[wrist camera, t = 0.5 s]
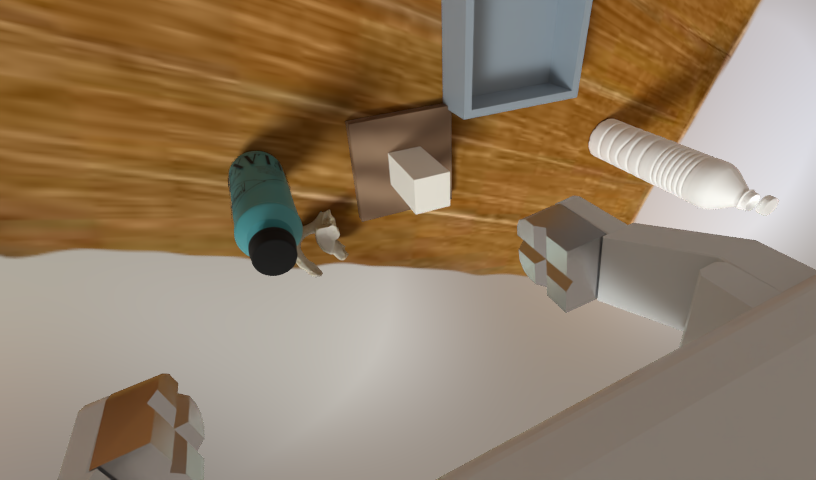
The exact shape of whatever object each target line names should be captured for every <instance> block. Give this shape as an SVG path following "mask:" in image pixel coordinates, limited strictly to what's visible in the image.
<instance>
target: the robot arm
mask: <svg viewBox="0 0 816 480" xmlns="http://www.w3.org/2000/svg"><path fill="white" fill-rule="evenodd" d="M517 231H518V236H520V237H521V238H522V239H523V242H522V244H521V246H520V248H519V257H520V262H521V264H522V267H523V269H524V271H525V273H526V274H527V276H528V277H529V278H530V279H531V280H532V281H533V282H534V283H535V284H537V285H541V286H545V287H547V295H548V296H549V297H550V298H551V299H552V300H553V301H554V302H555V303H556V304H557V305H558V306H559V307H560V308H561V309H562V310H563V311H565V312H566V313H567V312H569V311H571V310H573V309H575V308H578V307H580V306H582V305H584V304H586V303H589V302H591V301H593V300H595V299H597V298H598V301H601V302H604V303H607V304H609V305H612V306H615V307H617V308H620V309H623V310H626V311H628V312H631V313H634V314H637V315H640V316H642V317H645V318H648V319H651V320H654V321H656V322H659V323H662V324H665V325H667V326H670V327H673V328H676V329H678V330H681V331H683V335H682V339H681V343H680V347H679V348H678V349H676V350H674V351H673V352H671V353H669V354H667V355H665V356H664V357H662V358H660V359H658V360H656V361H654V362H652V363H650V364H649V365H647V366H645V367H643V368H641V369H639V370H637V371H636V372H634V373H632V374H630V375H628V376H626V377H625V378H623V379H621V380H619V381H617V382H615V383H614V384H612V385H610V386H608V387H606V388H604V389H602V390H600V391H599V392H597V393H595V394H593V395H591V396H589V397H588V398H586V399H584V400H582V401H581V402H578V403H576V404H575V405H573V406H571V407H569V408H567V409H565V410H563V411H562V412H560V413H558V414H556V415H554V416H552V417H550V418H549V419H547V420H545V421H543V422H541V423H539V424H538V425H536V426H534V427H532V428H530V429H528V430H526V431H525V432H523V433H521V434H519V435H517V436H515V437H513V438H512V439H510V440H508V441H506V442H504V443H502V444H501V445H499V446H497V447H495V448H493V449H492V450H489V451H488V452H486V453H484V454H482V455H480V456H478V457H476V458H475V459H473V460H471V461H469V462H467V463H465V464H464V465H462V466H460V467H458V468H456V469H454V470H453V471H451V472H449V473H447V474H445V475H443V476H441V477H440V478H438V479H436V480H816V270H815V269H813V268H811V267H809V266H807V265H805V264H803V263H801V262H799V261H797V260H795V259H792V258H791V257H789V256H787V255H785V254H782V253H780V252H778V251H776V250H774V249H772V248H770V247H768V246H766V245H764V244H762V243H760V242H758V241H756V240H750V239H743V238H736V237H729V236H722V235H714V234H708V233H701V232H693V231H687V230H680V229H673V228H666V227H658V226H652V225H644V224H637V223H632V224H630V225H626V224H625V223H623V222H621V221H620V220H618V219H616V218H615V217H613V216H611V215H610V214H608V213H606V212H605V211H603V210H601V209H600V208H598V207H596V206H595V205H593V204H591V203H590V202H588V201H586V200H585V199H583V198H581V197H579V196H572V197H570V198H567V199H565V200H563V201H561V202H559V203H556V204H555V205H553V206H551V207H548V208H546V209H544V210H541V211H539V212H537V213H535V214H532V215H530V216H528V217H526V218H523V219H521V220H519V222H518V225H517ZM203 440H204V423H203V419H202V416H201V412H200V410H199V408H198V406H197V405H196V403H195V402H194V401H193V399H192V398H191V397H190V396H187V395H183V394H178V383H177V382H176V381H175V380H174V379H173V378H172V377H171V376H170V374H160V375H158V376H155V377H153V378H151V379H148V380H145V381H143V382H140V383H138V384H136V385H133V386H131V387H128V388H126V389H123V390H121V391H118V392H116V393H114V394H111V395H110V396H107V397H105V398H102V399H100V400H97V401H95V402H92V403H90V404H88V405H85V406H84V407H83V408H82V409H81V410H80V411H79V412H78V414H77V417H76V420H75V423H74V427H73V430H72V433H71V437H70V440H69V443H68V446H67V450H66V453H65V456H64V459H63V463H62V466H61V469H60V473H59V476H58V479H57V480H204V458H203V457H202V456H201V455H200V454H199V453H198V452H197V450H198V449H199V447H200V445H201V444H202V442H203Z"/></svg>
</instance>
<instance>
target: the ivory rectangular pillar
mask: <svg viewBox="0 0 816 480" xmlns="http://www.w3.org/2000/svg"><path fill="white" fill-rule="evenodd" d="M388 159H389V170H390V181H391V185H392V186H393V188H394V189H395V190H396V191H397V192H398V194H399V195H400V196H401V197H402V198H403V200H404V201H405V202H406V203H407V204H408V206H409V207H410V208H411V209H412V210H413V212H414V213H415V214H420V213H424V212H428V211H431V210H435V209H439V208H443V207H447V206H450V171H448V170H447V169H446V168H445V167H444V166H443V165H441V164H440V163H439V162H438V161H437V160H436V159H434V158H433V157H432V156H431V155H430V154H429V153H427V152H426V151H425V150H424V149H423V148H422V147H420V146H419V147H414V148H409V149H405V150H400V151H395V152H391V153H388Z"/></svg>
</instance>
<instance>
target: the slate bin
mask: <svg viewBox="0 0 816 480" xmlns="http://www.w3.org/2000/svg"><path fill="white" fill-rule="evenodd" d="M592 1H593V0H442V62H443V103H444V104H445V105H447V106H448V110H449V111H451V112H452V113H454V114H456V115H457V116H459V117H461V118H462V119H464V120H465V119H470V118H475V117H480V116H485V115H490V114H495V113H500V112H505V111H510V110H515V109H520V108H525V107H530V106H535V105H540V104H545V103H550V102H555V101H560V100H565V99H570V98H575V97H577V94H578V87H579V81H580V75H581V69H582V63H583V57H584V51H585V44H586V38H587V32H588V26H589V20H590V14H591V8H592Z"/></svg>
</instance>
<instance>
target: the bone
mask: <svg viewBox="0 0 816 480" xmlns="http://www.w3.org/2000/svg"><path fill="white" fill-rule="evenodd" d="M313 233H315V236H316V241H317V243H318V245H319V246H320V248H321V249H322V250H323V251H324V252H326V253H329V254H334V256H335V257H337V258H338V259H339V260H345V259H346V257H347V256H348V254H347V252H346V251H345V248H344V247H345V246H344V245H342V244H341V243H340V242H339V241H338V240H336V239H338V238H339V236H340V232H339V229H338V228H337V227H336V223H335V218H334V217H333V216H332V215H331V211H330V209H329V210H327V211H326V212H322V211H320V213H319V215H318V216H317V218H316V219H315V220H314V221H313V222H312V223H310V224H308V225H305V226H303V234H302V238H301V240H300V242H299V244H298V246H297V254H298V256H297V261H296V263H297V265H298V266H299V267H300V268H301V269H303V270H305V271H307V273H309V275H311V276H314V277H319V276H321V275H322V274H323V273H322V271H321V270H320V269H319V268H318V267H317V266H316V265H315V264H314V263H312V262H310V261H309V260H308V259H307V258H306V257H305V256H304V254H303V253H302V251H301V242H302V240H303V239H304V238H305V237H306V236H308V235H309V234H313Z"/></svg>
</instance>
